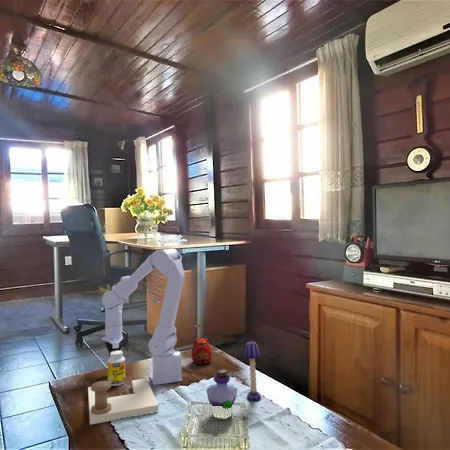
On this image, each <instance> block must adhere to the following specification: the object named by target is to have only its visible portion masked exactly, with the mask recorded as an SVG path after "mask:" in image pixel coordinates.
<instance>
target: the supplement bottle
mask: <svg viewBox="0 0 450 450" xmlns="http://www.w3.org/2000/svg"><path fill="white" fill-rule="evenodd" d="M123 355H124V353H123V351H122V350H120V351H112V352H111V353H110V356H109V358H108V359H107V381H108V382H110V383H111V387H112V386H113V387H117V386H121V385H124V384H125V382H126V357H125V356H123Z"/></svg>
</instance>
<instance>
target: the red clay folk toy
mask: <svg viewBox="0 0 450 450" xmlns="http://www.w3.org/2000/svg"><path fill="white" fill-rule="evenodd" d="M202 325H203V323H201V321H200V320H199V321H198V325H196V324H194V329H196V328H198V327H199V338H195V339H194V342H193V344H192V347H191V348H192V349H191V359H192V362H193V364H195V365H201V364H204V365H206V364H207V365H208V364H211V363H212V362H211V361H212V357H213V355H212V353H213V352H212V347H211V345H210V343H209V341H208V339H207V338H203V335H202V327H201V326H202Z"/></svg>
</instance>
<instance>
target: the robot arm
mask: <svg viewBox="0 0 450 450" xmlns="http://www.w3.org/2000/svg"><path fill="white" fill-rule="evenodd" d="M182 260H183V257H182V255H181V254H180V253H179V252H178V250H177V249H175V248H171V247H170V248H165V249H157V250H155V251H153V253H152V254H150V255H148V257H147V258H146V259H145V260H144V261H143V263H141V265H140V266H139V267H138V268H137V269H136V270H135V271H134V272H133V273H132V274H131V275H126V276H122V277H120V279H119V282H118V283H116V284H115V285H113V286H112V287H111V290H107V291H105V292H104V293H103V295H102V297H101V303H102V305H103V306H104V308H105V309H104V311H105V312H104V313H105V315H104V317H105V318H104V319H105V320H104V323H105V330H104V331H105V335H104V336H103V337H102V338H101V340H102V341H103V342H104V341H106V342H105V347H106V349H107V351H108V355H109V357H110V353H111V352H112V351H121V349H122V347H123V341H122V340H123V338H124V337H123V308H124V307H123V305H124V303H125V302H126V299H127V298H128V297H129V296H130V295H131V294H132V293H133V292H134V291H136V290H137V288H138V283H139V282H140V281H141V280H143V279H144V278H145V277H146V276H148V275H149V273H151V272H153V270H155V269H156V270H158V271H159V272H160V273H162V274H163V275H164V276H165V278H166V279H167V283H166V287H165V291H164V296H163V300H162V305H161V311H160V316H159V320H158V325H157V326H156V328H154V331H153V335H152V337H151V338H150V340H149V341H148V350H149V351H150V353H151V356H152V357H151V359H152V363H151V364H152V374H150V375H149V378H150V381H151V382H152V384H153V386H158V385H164V384H170V383H176V382H181V381H183V380H182V379H183V378H182V356H181V352H180V351H179V350H175V349H174V348H175V346H176V345H177V343H178V342H177V341H178V338H177V327H176V326H175V324H176V319H177V315H178V310H179V305H180V301H181V300H180V299H181V295H182V291H183V286H184V282H185V277H186V275H185V271H184V267H183V263H182Z"/></svg>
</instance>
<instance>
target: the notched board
mask: <svg viewBox="0 0 450 450" xmlns="http://www.w3.org/2000/svg"><path fill="white" fill-rule="evenodd" d="M111 388H112V386H111V383H110V382H108V380H99V381H95V382H94V383H93V382H92V384H91V385H90V386H88V387H87V393H88V412H89V413H88V415H89V426H90V425H96V424H101V423H107V422H112V420H113V421H115V420H114V419H118V420H121V419H120V418H124V419H126V418H125V417H129V418H131V417H130V416H134V417H136V416H135V415H140V416H143V415H142V414H145V415H147V414H146V413H150V412H155V411H158V412H159V403H158V401H157V399H156V397H155V395H154V392H153V389H152V388H151V386H150V383H149V381H148V379H147V378H141V379H134V380H131V389H132V391H133V393H129V394H124V395H123V394H122V395H117V396H112V397H111V396H110V397H108V390H110V389H111Z"/></svg>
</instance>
